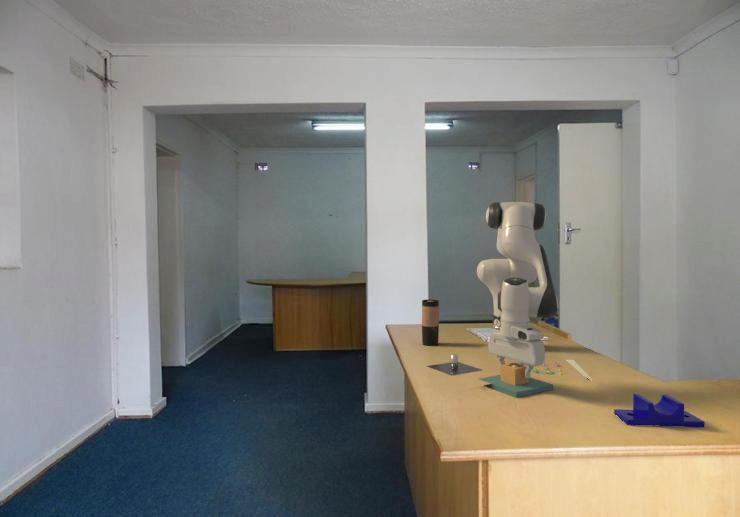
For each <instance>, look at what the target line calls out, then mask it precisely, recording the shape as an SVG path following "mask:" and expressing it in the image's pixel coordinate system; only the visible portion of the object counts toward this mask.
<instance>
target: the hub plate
mask: <svg viewBox="0 0 740 517" xmlns="http://www.w3.org/2000/svg"><path fill="white" fill-rule="evenodd" d="M512 367H514V368H517V367H518V366H516V365H513V366H512ZM478 380H480V381H483V382H486V383H488V384H483V387H487V388H488V389H491V390H495V391H497V392H500V393H503V394H505V395H508V396H509V397H510V396H511V397H513V398H522V397H524V396H525V395H526V396H529V394H530V395H534V394H533V393H535V394H538V392H539V393H542V392H549V391H552V390H554V384H553V383H550V382H546V381H543V380H539V379H538V378H533V377H531V376H530V378H529V383H525V384H520V385H512V384H509V383H506V382H503V381H501V374H497V375H492V376H491V375H490V376H486V377H481V378H478ZM526 396H525V397H526Z"/></svg>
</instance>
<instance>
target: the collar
mask: <svg viewBox="0 0 740 517" xmlns="http://www.w3.org/2000/svg"><path fill="white" fill-rule="evenodd" d="M513 365H516V366H518V367H517V368H514V367H512V366H513ZM526 368H527V367H525V364H520V363H519V364H518V363H517V362H510V363H505V364H503V365H501V370H500V375H501V381H503V382H506V383H509V384H512V385H520V384H525V383H529V378H525V377H523V371H525V370H526Z"/></svg>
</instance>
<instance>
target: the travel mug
mask: <svg viewBox="0 0 740 517" xmlns="http://www.w3.org/2000/svg"><path fill="white" fill-rule="evenodd" d="M421 302H422V303H421V307H422V308H421V336H422V337H421V339H422V340H421V341H422V345H423V346H427V347H428V346H429V347H434V346H438V345H439V336H440V335H439V333H440V332H439V331H440V330H439V327H440V319H439V318H440V314H439V312H440V310H439V309H440V306H439V305H440V303H439V302H440V301H439V299H422V300H421Z"/></svg>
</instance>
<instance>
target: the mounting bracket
mask: <svg viewBox="0 0 740 517" xmlns="http://www.w3.org/2000/svg"><path fill="white" fill-rule="evenodd" d="M632 395H633V396H632V397H633V399H632V400H633V401H632V402H633V403H632V409H622V408H621V409H617V408H616V409H613V414H615V415H617V416H618V417H619V418H620V419H621V420H620V419H619V418H618V417H617V418H618V419H619V420H620V421H621V422H623V421H624V422H625V423H626V424H625V423H624V422H623V423H624V424H625V425H627V426H636V425H654V426H653V427H656V426H655V425H659V426H658V427H673V426H684V427H683V428H705V425H706V424H705V421H704V420H702V419H701V418H699V417H697V416H695V415H694V414H692V413H690V412H688V411H687V410H685V403H683V402H681V401H679V400H678V399H676V398H675V397H672V396H671V395H669V394H664V393H663V394H662V395H661V399H660V400H659V402H657V403H656V404H654V402H652V401H651V400H649V399H647V398H646V397H644V396H642V395H641V394H639V393H633V394H632ZM615 415H614V416H615Z"/></svg>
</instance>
